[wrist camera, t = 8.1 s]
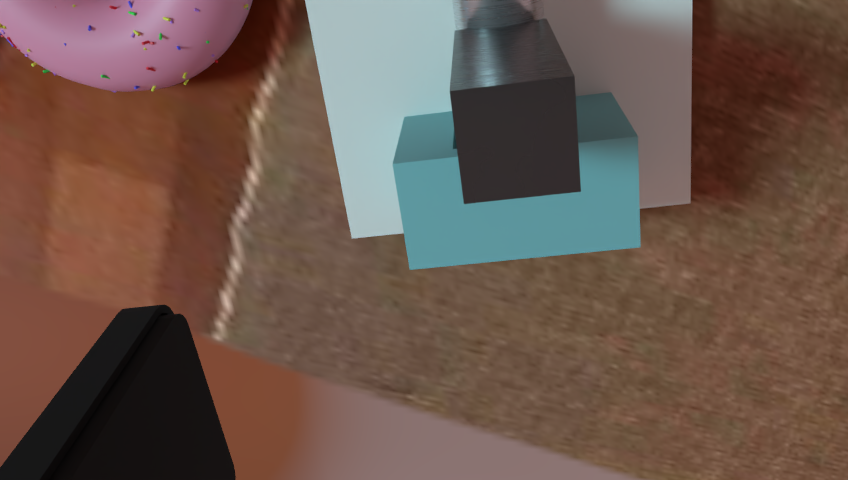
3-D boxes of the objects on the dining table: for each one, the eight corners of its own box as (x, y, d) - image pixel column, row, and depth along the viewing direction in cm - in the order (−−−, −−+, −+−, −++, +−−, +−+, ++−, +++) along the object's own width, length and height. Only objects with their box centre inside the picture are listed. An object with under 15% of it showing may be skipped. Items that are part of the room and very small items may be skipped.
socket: (404, 116, 31) (392, 164, 26) (611, 92, 30) (637, 136, 25) (418, 209, 32) (410, 269, 28) (614, 188, 32) (640, 247, 27)
